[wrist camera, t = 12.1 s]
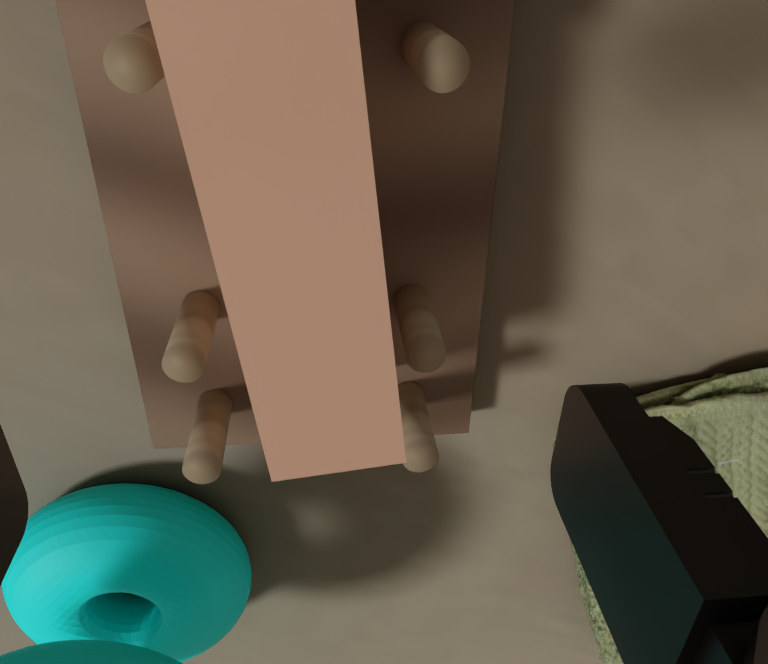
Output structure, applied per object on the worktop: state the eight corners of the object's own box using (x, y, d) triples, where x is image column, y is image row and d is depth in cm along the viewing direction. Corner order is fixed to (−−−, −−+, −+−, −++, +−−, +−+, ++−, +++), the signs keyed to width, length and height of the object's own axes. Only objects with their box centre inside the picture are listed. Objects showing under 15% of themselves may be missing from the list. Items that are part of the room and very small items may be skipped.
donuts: (-174, 832, 20) (1, 677, 17) (-28, 563, 28) (106, 428, 25) (113, 899, 24) (294, 785, 21) (165, 647, 33) (299, 541, 29)
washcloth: (855, 317, 26) (918, 361, 24) (806, 584, 36) (847, 638, 33) (540, 394, 27) (566, 446, 24) (572, 638, 36) (594, 696, 33)
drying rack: (20, -246, 15) (-86, -313, 11) (526, -225, 16) (596, -278, 12) (160, 427, 25) (131, 519, 21) (462, 413, 26) (489, 498, 22)
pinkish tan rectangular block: (173, -74, 16) (123, -79, 12) (335, -93, 16) (343, -104, 12) (278, 382, 23) (271, 481, 19) (389, 367, 23) (406, 462, 19)
